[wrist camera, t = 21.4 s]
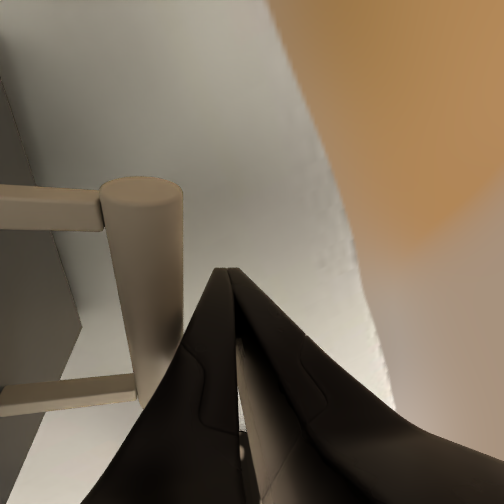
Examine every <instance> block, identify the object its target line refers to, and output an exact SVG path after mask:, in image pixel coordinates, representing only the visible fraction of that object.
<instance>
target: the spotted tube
mask: <svg viewBox="0 0 504 504" xmlns="http://www.w3.org/2000/svg"><path fill="white" fill-rule="evenodd" d="M239 441H240V458H241V470H242V478H243V484H244V491H245V497H246V503H247V504H262V500H261V497H260V493H259V488H258V483H257V478H256V473H255V468H254V463H253V459H252V454H251V449H250V444H249V439H248V434H247V433H244V432H239Z"/></svg>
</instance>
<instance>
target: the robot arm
mask: <svg viewBox="0 0 504 504" xmlns="http://www.w3.org/2000/svg"><path fill="white" fill-rule="evenodd" d="M305 335H306V334H305V333H304V332H303V331H302V330H301V329H300V328H299V327H298V326H297V325H296V324H295V323H294V322H293V321H292V320H291V319H290V318H289V317H288V316H287V315H286V314H285V313H284V312H283V311H282V310H281V309H280V308H279V307H278V306H277V305H276V304H275V303H274V302H273V301H272V300H271V299H270V298H269V297H268V296H267V295H266V294H265V293H264V292H263V291H262V290H261V289H260V288H259V287H258V286H257V285H256V284H255V283H254V282H253V281H252V280H251V279H250V278H249V277H248V276H247V275H246V274H245V273H244V272H243V271H242V270H241V269H240V268H214V270H213V272H212V274H211V276H210V278H209V281H208V283H207V285H206V287H205V289H204V292H203V294H202V296H201V298H200V300H199V302H198V305H197V307H196V309H195V311H194V313H193V316H192V318H191V320H190V322H189V324H188V327H187V329H186V331H185V333H184V335H183V337H182V340H181V342H180V345H179V346H178V348H177V350H176V352H175V354H174V357H173V359H172V361H171V363H170V365H169V367H168V369H167V371H166V373H165V375H164V376H163V378H162V380H161V382H160V383H159V385H158V387H157V388H156V390H155V392H154V394H153V395H152V397H151V399H150V400H149V402H148V403H147V405H146V407H145V408H144V410H143V411H142V413H141V415H140V416H139V418H138V419H137V421H136V423H135V424H134V426H133V427H132V429H131V431H130V432H129V434H128V435H127V437H126V439H125V440H124V442H123V443H122V445H121V447H120V448H119V450H118V451H117V453H116V455H115V456H114V458H113V459H112V461H111V462H110V464H109V465H108V467H107V469H106V470H105V471H104V473H103V474H102V476H101V477H100V479H99V480H98V481H97V483H96V484H95V485H94V487H93V488H92V489H91V491H90V492H89V493H88V495H87V496H86V497H85V498H84V500H83V501H82V502H81V503H80V504H247V503H246V497H245V491H244V484H243V478H242V470H241V458H240V441H239V413H238V391H239V395H240V400H241V405H242V410H243V415H244V420H245V425H246V429H247V434H248V439H249V444H250V449H251V454H252V459H253V463H254V468H255V473H256V478H257V483H258V488H259V493H260V497H261V500H262V504H504V461H502V460H499V459H496V458H493V457H491V456H489V455H486V454H483V453H481V452H478V451H475V450H473V449H470V448H468V447H465V446H462V445H460V444H457V443H454V442H452V441H449V440H447V439H444V438H441V437H439V436H436V435H434V434H431V433H428V432H426V431H424V430H422V429H421V428H419V427H417V426H415V425H414V424H412V423H410V422H409V421H407V420H406V419H404V418H403V417H401V416H400V415H399V414H397V413H396V412H395V411H394V410H392V409H391V408H390V407H389V406H387V405H386V404H385V403H384V402H383V401H381V400H380V399H379V398H378V397H377V396H375V395H374V394H373V393H372V392H371V391H369V390H368V389H367V388H366V387H365V386H363V385H362V384H361V383H360V382H359V381H357V380H356V379H355V378H354V377H352V376H351V375H350V374H349V373H348V372H347V371H345V370H344V369H343V368H342V367H341V366H340V365H338V364H337V363H336V362H335V361H334V360H333V359H331V358H330V357H329V356H328V355H327V354H326V353H325V352H324V351H323V350H322V349H321V348H320V347H319V346H318V345H317V344H316V343H315V342H314V341H313V340H312V339H311V338H310V337H309V336H307V335H306V336H305ZM237 386H238V387H237Z"/></svg>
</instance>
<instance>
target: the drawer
mask: <svg viewBox="0 0 504 504" xmlns="http://www.w3.org/2000/svg"><path fill="white" fill-rule="evenodd" d="M104 227H105V228H106V233H107V238H108V243H109V248H110V254H111V259H112V264H113V269H114V274H115V279H116V285H117V290H118V295H119V300H120V305H121V310H122V316H123V321H124V326H125V331H126V336H127V341H128V347H129V352H130V357H131V362H132V367H133V372H134V373H130V374H120V375H110V376H100V377H90V378H79V379H69V380H60V378H61V376H62V373H63V371H64V369H65V366H66V364H67V362H68V359H69V357H70V355H71V353H72V350H73V348H74V346H75V343H76V341H77V339H78V336H79V334H80V332H81V329H82V324H81V321H80V318H79V315H78V312H77V309H76V306H75V303H74V300H73V297H72V294H71V290H70V287H69V284H68V281H67V278H66V275H65V272H64V269H63V266H62V263H61V260H60V257H59V254H58V251H57V248H56V245H55V242H54V239H53V236H52V233H51V231H87V232H100V231H103V229H104ZM183 335H184V334H183V192H182V190H181V188H180V187H179V186H178V185H177V184H175V183H173V182H171V181H168V180H164V179H160V178H155V177H144V176H133V177H123V178H118V179H114V180H111V181H108V182H106V183H104V184H103V185H102V186H101V187H100V190H85V189H69V188H53V187H37V186H36V184H35V181H34V178H33V175H32V172H31V169H30V166H29V163H28V160H27V157H26V154H25V151H24V148H23V145H22V142H21V139H20V136H19V133H18V129H17V126H16V123H15V120H14V117H13V114H12V111H11V108H10V105H9V102H8V99H7V96H6V93H5V90H4V87H3V84H2V81H1V78H0V504H6V502H7V500H8V498H9V496H10V493H11V491H12V489H13V486H14V484H15V482H16V479H17V477H18V475H19V472H20V470H21V468H22V466H23V463H24V461H25V459H26V456H27V454H28V452H29V449H30V447H31V445H32V442H33V440H34V438H35V436H36V433H37V431H38V429H39V426H40V424H41V422H42V419H43V417H44V415H45V413H46V411H54V410H63V409H71V408H79V407H87V406H95V405H103V404H111V403H119V402H128V401H135V400H136V399H137V395H138V398H139V403H140V405H141V407H142V408H143V409H144V408H145V407H146V405H147V403H148V402H149V400H150V399H151V397H152V395H153V394H154V392H155V390H156V388H157V387H158V385H159V383H160V382H161V380H162V378H163V376H164V375H165V373H166V371H167V369H168V367H169V365H170V363H171V361H172V359H173V357H174V354H175V352H176V350H177V348H178V346H179V345H180V342H181V340H182V337H183Z"/></svg>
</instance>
